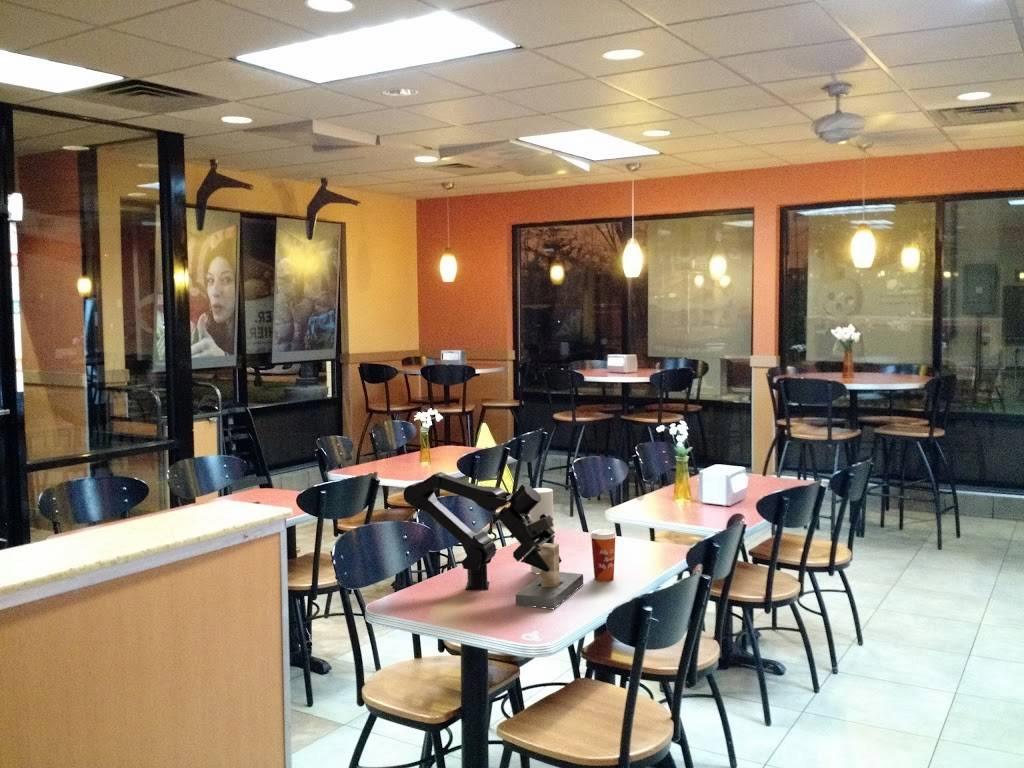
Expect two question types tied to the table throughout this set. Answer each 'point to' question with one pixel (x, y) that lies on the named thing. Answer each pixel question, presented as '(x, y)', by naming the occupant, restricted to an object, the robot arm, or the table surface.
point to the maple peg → (550, 565)
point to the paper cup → (603, 554)
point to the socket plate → (549, 591)
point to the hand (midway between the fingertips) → (554, 566)
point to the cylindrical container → (542, 511)
